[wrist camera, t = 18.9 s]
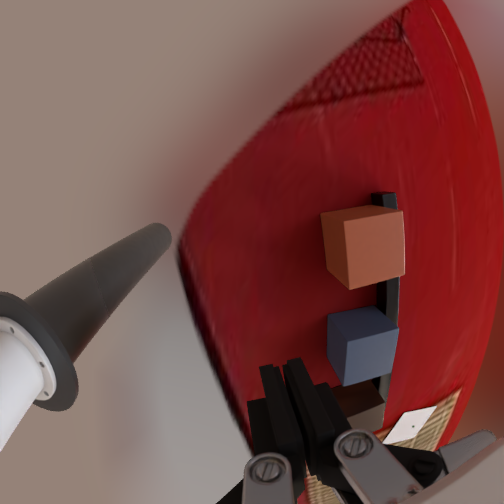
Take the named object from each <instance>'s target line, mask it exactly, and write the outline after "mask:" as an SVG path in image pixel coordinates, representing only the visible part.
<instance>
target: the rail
mask: <svg viewBox="0 0 504 504" xmlns="http://www.w3.org/2000/svg"><path fill="white" fill-rule="evenodd" d="M371 197H372V205H376V206H381V207H386V208H391V209H396V210H397V199H396V193H394V192H377V193H371ZM399 281H400V276H398V277H395V278H392V279H388V280H385V281H381V282H378V283H377V308H378V309H379V310H380V311H381V312H382V313H383V314H384V315H385V316H387V317H388V318H389V319H390V320H391V321H392V322H393V323H394V324H395V325H396V326H397V322H398V307H399ZM392 367H393V366H392ZM391 374H392V370H391V373H388V374H385V375H382V376H379V377H375V378H372V383H373V385H374V386H375V388H376V389H377V391H378V392H379V394H380V395H381V397H382V398H383V400H384V401H385V407H386V402H387V397H388V391H389V386H390V380H391ZM384 411H385V410H384Z"/></svg>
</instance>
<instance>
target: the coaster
mask: <svg viewBox="0 0 504 504" xmlns="http://www.w3.org/2000/svg"><path fill="white" fill-rule="evenodd" d="M436 407H437V406H434V407H430V408H425V409H421V410H416V411H411V412H405V413H404V414H403V415H402V417H401V418H400V420H399V421H398V422H397V424H396V425H395V427H394V428H393V429H392V431H391V432H390V433H389V435H388V436H387V437H386V439H385V440H384V441H383V444H390V443H394V442H399V441H403V440H407V439H411V438H414V437H415V435H416V434H417V433H418V432H419V430H420V429H421V428H422V426H423V425H424V424H425V422H426V421H427V420H428V418H429V417H430V415H431V414H432V412H433V411H434V410H435V408H436Z"/></svg>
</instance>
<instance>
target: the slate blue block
mask: <svg viewBox="0 0 504 504" xmlns="http://www.w3.org/2000/svg"><path fill="white" fill-rule="evenodd" d="M398 333H399V327H398V326H396V325H395V324H394V323H393V322H392V321H391V320H390V319H389V318H388V317H387V316H385V315H384V314H383V313H382V312H381V311H380V310H379V309H378V308H376V307H375V306H374V305H371V306H367V307H362V308H358V309H353V310H348V311H343V312H338V313H333V314H328V324H327V358H328V360H329V362H330V364H331V365H332V367H333V369H334V371H335V373H336V374H337V376H338V378H339V380H340V382H341V384H342V385H343V387H344V386H348V385H352V384H355V383H359V382H362V381H366V380H369V379H372V378H375V377H379V376H382V375H385V374H388V373H391V370H392V366H393V361H394V356H395V350H396V345H397V339H398Z"/></svg>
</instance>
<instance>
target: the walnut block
mask: <svg viewBox="0 0 504 504" xmlns="http://www.w3.org/2000/svg"><path fill="white" fill-rule="evenodd" d="M331 390H332V392H333V394H334V396H335V398H336V399H337V401H338V403H339V405H340V407H341V409H342V410H343V412H344V414H345V416H346V418H347V420H348V422H349V423H350V425H351V427H352V429H355V428H361V429H366V430H369V431H371V432H373V431H376V430H378V429H380V428H382V425H383V418H384V410H385V401H384V400H383V398H382V397H381V395H380V394H379V392H378V391H377V389H376V388H375V386H374V385H373V383H372V382H371V380H370V379H369V380H366V381H362V382H359V383H355V384H352V385H348V386H344V387H343V385H341V386H338V387H335V388H332V389H331Z"/></svg>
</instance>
